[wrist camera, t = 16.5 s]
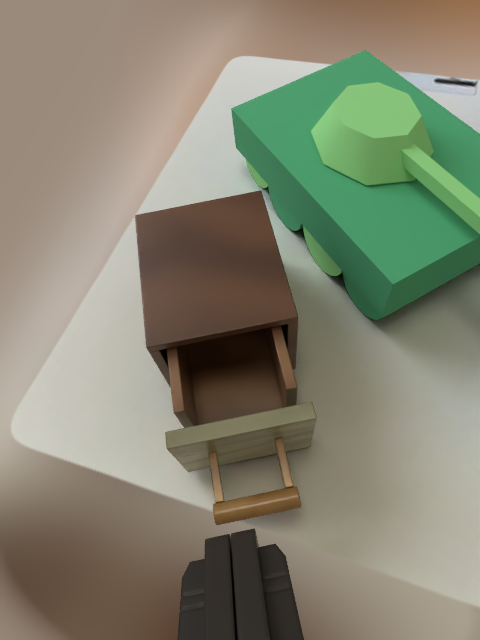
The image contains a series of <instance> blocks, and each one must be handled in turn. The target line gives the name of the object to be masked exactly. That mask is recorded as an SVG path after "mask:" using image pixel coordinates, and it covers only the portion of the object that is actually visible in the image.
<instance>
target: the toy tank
mask: <svg viewBox="0 0 480 640" xmlns="http://www.w3.org/2000/svg"><path fill="white" fill-rule="evenodd" d="M231 110H232V118H233V126H234V135H235V143H236V148H237V149H238V150H239V152H240V153H241V154H242V155H243V156H244V157H245V158H246V162H247V165H248V168H249V170H250V173H251V175H252V177H253V178H254V180H255V181H256V183H257V184H258V185H259V186H260V187H262V188H266V187H268V188H269V194H270V198H271V201H272V204H273V206H274V209H275V211H276V213H277V215H278V216H279V218H280V219H281V221H282V222H283V224H284V225H285V226H286V227H287V228H289V229H291V230H292V231H297V230H299V229H301V228H304V236H305V240H306V243H307V246H308V249H309V251H310V253H311V255H312V257H313V259H314V260H315V261H316V263H317V264H318V266H319V267H320V268H321V269H322V270H323V271H324V272H325V273H327V274H329V275H330V276H337V275H339V274H341V273H343V278H344V283H345V286H346V289H347V291H348V293H349V295H350V297H351V299H352V301H353V302H354V304H355V305H356V306H357V308H358V309H359V310H360V311H361V312H362V313H363V314H364V315H366V316H367V317H369V318H371V319H375V320H378V319H382V318H384V317H386V316H387V315H389V314H391V313H393V312H394V311H396V310H398V309H400V308H402V307H403V306H405V305H407V304H409V303H411V302H412V301H414V300H416V299H418V298H419V297H421V296H423V295H425V294H427V293H428V292H430V291H432V290H434V289H436V288H437V287H439V286H441V285H443V284H445V283H446V282H448V281H450V280H452V279H453V278H455V277H457V276H459V275H461V274H462V273H464V272H466V271H468V270H470V269H471V268H473V267H475V266H477V265H478V264H480V134H479V133H478V132H476V131H475V130H474V129H472V128H471V127H469V126H468V125H467V124H465V123H464V122H463V121H461V120H460V119H459V118H457V117H456V116H454V115H453V114H452V113H450V112H449V111H448V110H446V109H445V108H444V107H442V106H441V105H440V104H438V103H437V102H435V101H434V100H433V99H431V98H430V97H429V96H427V95H426V94H425V93H423V92H422V91H421V90H419V89H418V88H416V87H415V86H414V85H412V84H411V83H410V82H408V81H407V80H406V79H404V78H403V77H402V76H400V75H399V74H397V73H396V72H395V71H393V70H392V69H391V68H389V67H388V66H387V65H385V64H384V63H383V62H381V61H380V60H378V59H377V58H376V57H374V56H373V55H372V54H370V53H369V52H367V51H366V50H365V51H363V52H360V53H358V54H356V55H353V56H351V57H349V58H347V59H344V60H342V61H340V62H337V63H335V64H333V65H330V66H328V67H326V68H323V69H321V70H319V71H317V72H314V73H312V74H310V75H307V76H305V77H303V78H301V79H298V80H296V81H294V82H291V83H289V84H287V85H284V86H282V87H280V88H278V89H275V90H273V91H271V92H268V93H266V94H264V95H261V96H259V97H257V98H255V99H252V100H250V101H248V102H245V103H243V104H241V105H238V106H236V107H234V108H232V109H231Z"/></svg>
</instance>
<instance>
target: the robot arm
mask: <svg viewBox="0 0 480 640" xmlns="http://www.w3.org/2000/svg"><path fill="white" fill-rule="evenodd" d="M178 640H304V638H303V634H302V629H301V625H300V620H299V615H298V611H297V606H296V602H295V597H294V593H293V589H292V584H291V580H290V575H289V570H288V565H287V561H286V556H285V555H284V554H283V552H282V551H281V550H280V549H279V548H278V546H277V545H276V544H272V545H267V546H263V547H259V545H258V540H257V536H256V531H255V529H251V530H246V531H241V532H236V533H232V534H231V537H230V535H229V534H227V535H222V536H218V537H213V538H209V539H205V559H202V560H198V561H193V562H190V563H189V565H188V567H187V570H186V571H185V573H184V575H183V577H182V587H181V601H180V615H179V629H178Z"/></svg>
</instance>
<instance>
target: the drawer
mask: <svg viewBox="0 0 480 640" xmlns="http://www.w3.org/2000/svg"><path fill="white" fill-rule="evenodd" d="M167 357H168V366H169V375H170V384H171V393H172V402H173V411H174V414H175V415H176V417H177V418H178V420H179V421H180V423H181V424H182V425H183V427H184V428H183V429H178V430H173V431H169V432H165V435H166V446H167V449H168V451H169V452H170V453H171V454H172V455H173V456H174V457H175V458H176V459H177V460H178V461H179V463H180V464H181V465H182V466H183V467H184V468H185V469H186V470H187V471H188V472H191V471H196V470H200V469H205V468H211V475H212V482H213V489H214V496H215V502H216V503H214V504H213V513H214V519H215V523H216V525H220V524H225V523H230V522H234V521H239V520H244V519H249V518H253V517H258V516H263V515H268V514H272V513H277V512H282V511H287V510H291V509H296V508H300V507H301V502H300V497H299V493H298V489H297V487H293V482H292V477H291V473H290V469H289V464H288V460H287V456H286V452H287V451H291V450H296V449H301V448H306V447H310V446H311V441H312V436H313V431H314V426H315V422H316V415H315V411H314V407H313V404H312V402H309V403H304V404H299V405H296V397H297V384H296V380H295V377H294V373H293V369H292V365H291V362H290V358H289V354H288V350H287V347H286V343H285V339H284V335H283V332H282V328H281V325H280V326H275V327H270V328H265V329H260V330H255V331H250V332H245V333H240V334H235V335H230V336H226V337H221V338H216V339H211V340H206V341H201V342H196V343H191V344H186V345H181V346H176V347H171V348H167ZM272 454H278V459H279V463H280V468H281V472H282V477H283V481H284V486H285V489H281V490H276V491H272V492H267V493H262V494H257V495H253V496H248V497H243V498H238V499H233V500H229V501H224V494H223V488H222V481H221V475H220V469H219V465H224V464H229V463H234V462H239V461H243V460H248V459H253V458H258V457H263V456H267V455H272Z"/></svg>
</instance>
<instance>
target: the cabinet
mask: <svg viewBox="0 0 480 640" xmlns="http://www.w3.org/2000/svg"><path fill="white" fill-rule="evenodd" d="M135 221H136V232H137V244H138V256H139V267H140V279H141V291H142V303H143V314H144V326H145V338H146V348H147V349H148V351H149V353H150V354H151V356H152V358H153V359H154V361H155V363H156V364H157V366H158V368H159V369H160V371H161V373H162V374H163V376H164V377H165V379H166V381H167V382H168V384H169V386H170V387H171V384H170V375H169V366H168V357H167V348H171V347H176V346H181V345H186V344H191V343H196V342H201V341H206V340H211V339H216V338H221V337H226V336H230V335H235V334H240V333H245V332H250V331H255V330H260V329H265V328H270V327H275V326H280V325H281V328H282V332H283V335H284V339H285V343H286V347H287V350H288V354H289V358H290V362H291V365H292V369H293V368H295V364H296V347H297V329H298V314H297V311H296V308H295V304H294V301H293V297H292V294H291V290H290V287H289V284H288V280H287V277H286V273H285V270H284V267H283V263H282V260H281V256H280V253H279V249H278V246H277V243H276V239H275V236H274V232H273V229H272V226H271V222H270V219H269V215H268V212H267V208H266V205H265V202H264V198H263V195H262V191H256V192H251V193H246V194H241V195H236V196H231V197H226V198H221V199H216V200H211V201H205V202H200V203H195V204H190V205H185V206H180V207H175V208H170V209H165V210H160V211H155V212H150V213H145V214H140V215H135Z"/></svg>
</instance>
